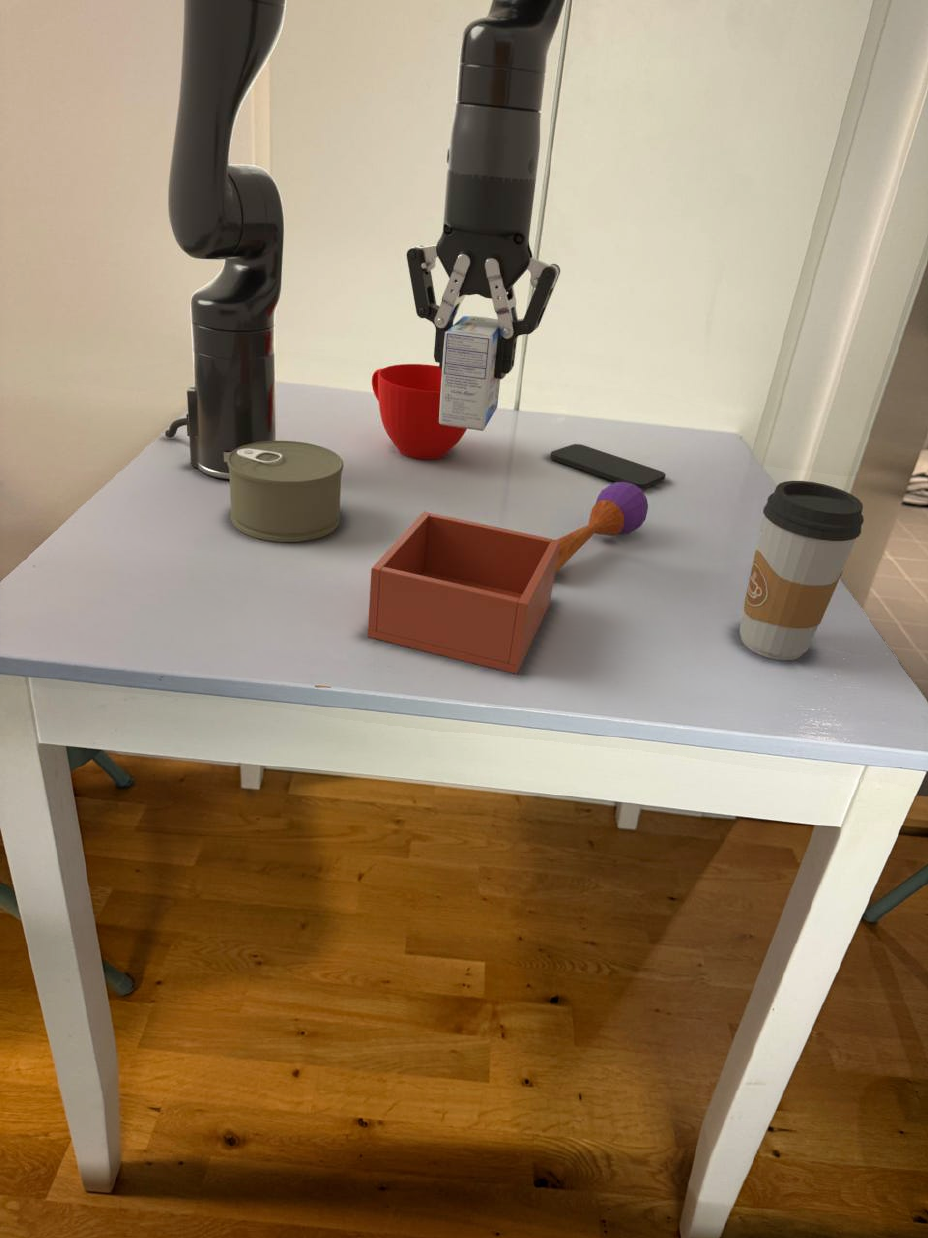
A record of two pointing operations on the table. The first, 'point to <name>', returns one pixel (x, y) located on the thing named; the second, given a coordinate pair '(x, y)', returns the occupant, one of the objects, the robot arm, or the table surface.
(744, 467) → the table surface
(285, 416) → the table surface
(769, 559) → the coffee cup
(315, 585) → the table surface
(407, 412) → the ceramic cup
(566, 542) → the purple and orange maraca
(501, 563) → the bin
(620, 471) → the phone
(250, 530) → the can
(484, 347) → the medicine box
